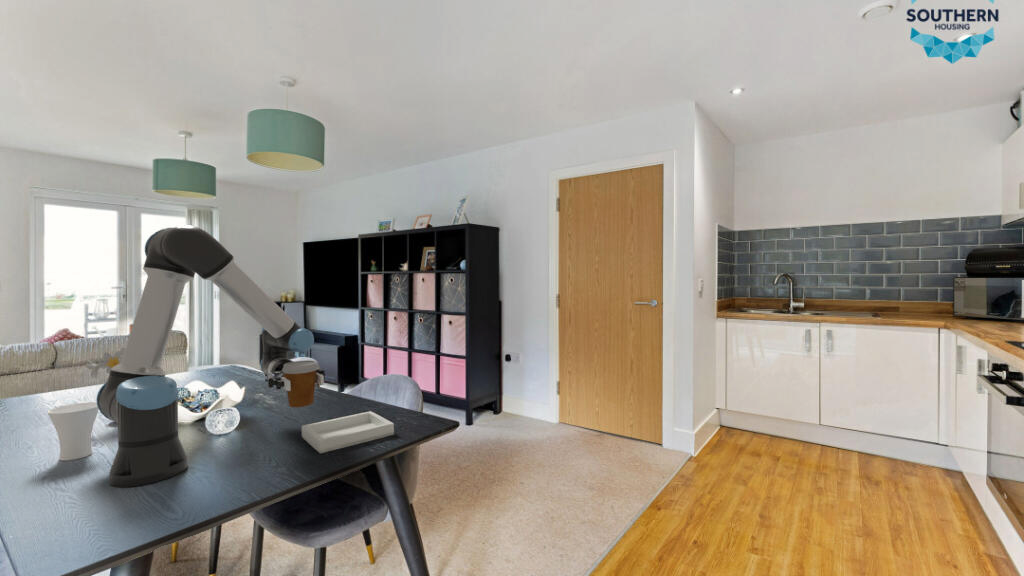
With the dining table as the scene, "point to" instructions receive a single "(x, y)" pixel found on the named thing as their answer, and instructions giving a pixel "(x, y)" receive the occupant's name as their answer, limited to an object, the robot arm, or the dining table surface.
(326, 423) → the tray
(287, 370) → the disposable coffee cup
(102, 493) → the dining table surface
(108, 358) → the flower vase
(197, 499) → the dining table surface
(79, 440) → the cup
